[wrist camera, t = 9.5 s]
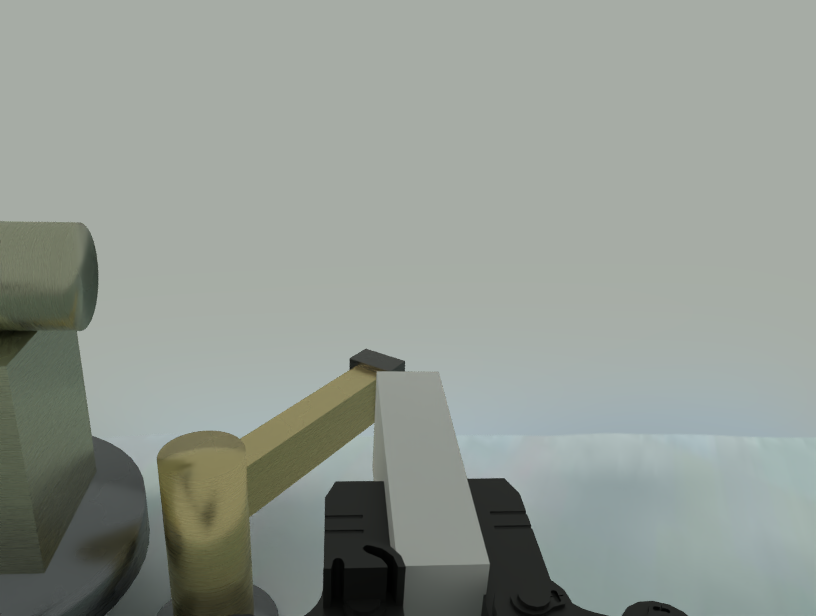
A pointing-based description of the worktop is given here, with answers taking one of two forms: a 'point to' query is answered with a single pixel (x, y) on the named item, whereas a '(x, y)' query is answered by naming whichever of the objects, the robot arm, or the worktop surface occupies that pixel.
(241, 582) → the lever
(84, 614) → the surveying level
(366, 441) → the worktop surface
